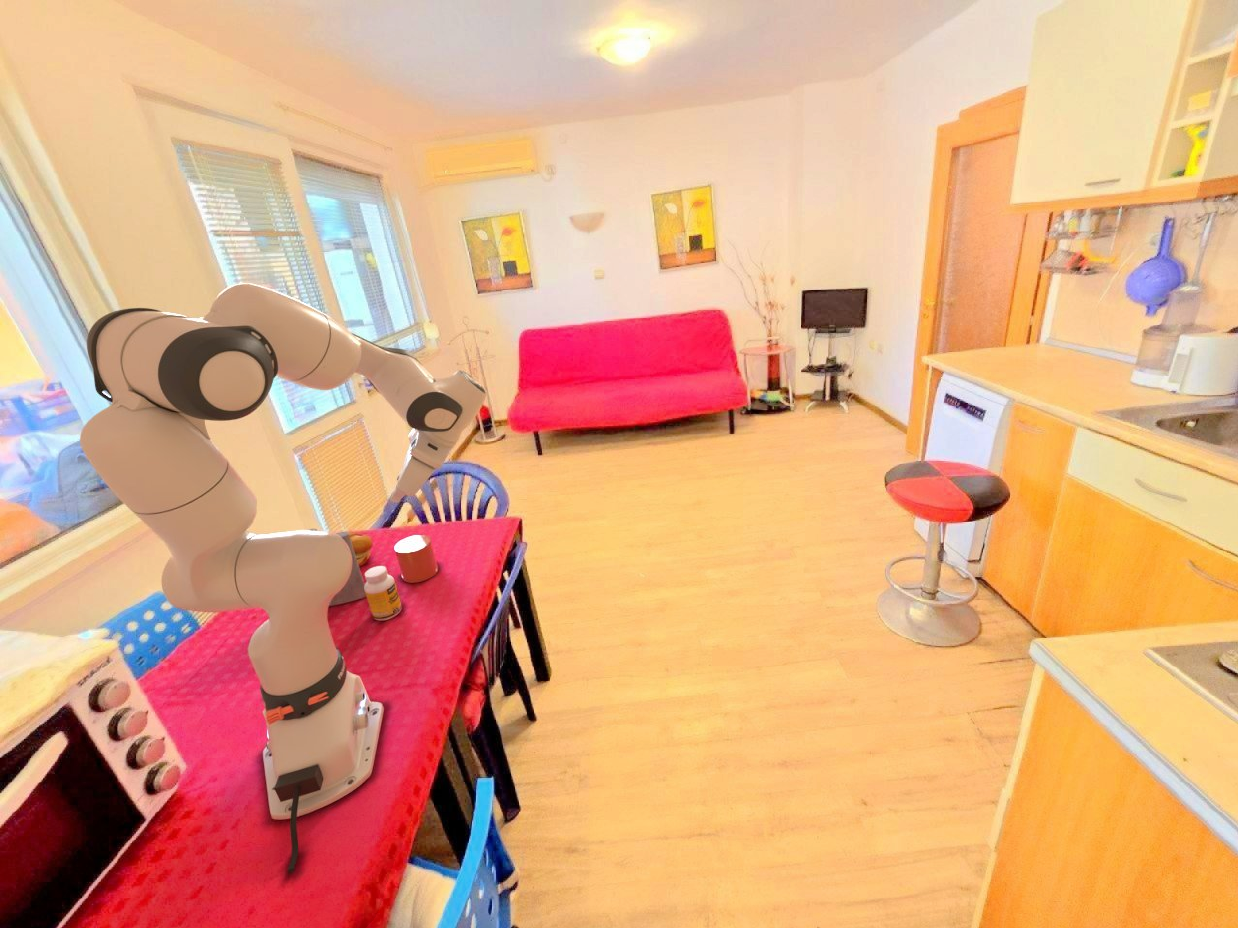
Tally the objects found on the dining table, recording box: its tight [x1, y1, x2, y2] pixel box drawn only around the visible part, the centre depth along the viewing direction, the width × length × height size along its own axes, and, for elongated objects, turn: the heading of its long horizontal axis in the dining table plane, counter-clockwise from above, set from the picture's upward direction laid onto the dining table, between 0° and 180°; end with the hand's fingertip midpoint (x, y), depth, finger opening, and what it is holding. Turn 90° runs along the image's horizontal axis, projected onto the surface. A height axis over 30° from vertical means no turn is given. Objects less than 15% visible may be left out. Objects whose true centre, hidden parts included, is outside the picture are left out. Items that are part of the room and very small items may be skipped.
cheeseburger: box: [347, 531, 374, 568], centre depth 142 cm, size 10×11×10 cm
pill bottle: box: [364, 565, 403, 621], centre depth 118 cm, size 6×6×12 cm
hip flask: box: [307, 528, 366, 607], centre depth 122 cm, size 16×4×20 cm, turn 102°
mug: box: [394, 534, 439, 584], centre depth 134 cm, size 12×9×9 cm
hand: (397, 490), depth 109 cm, fingers open, 8 cm apart
